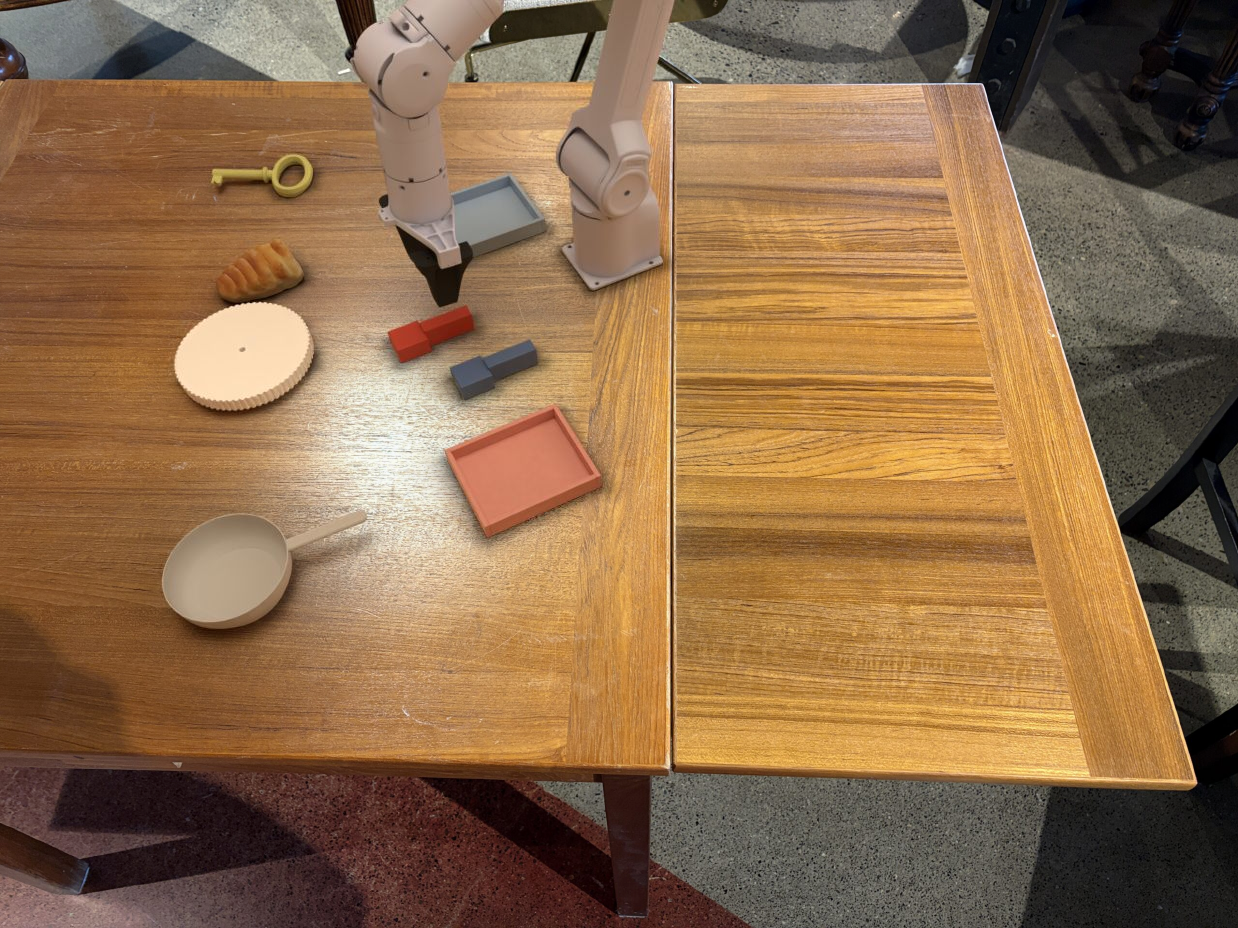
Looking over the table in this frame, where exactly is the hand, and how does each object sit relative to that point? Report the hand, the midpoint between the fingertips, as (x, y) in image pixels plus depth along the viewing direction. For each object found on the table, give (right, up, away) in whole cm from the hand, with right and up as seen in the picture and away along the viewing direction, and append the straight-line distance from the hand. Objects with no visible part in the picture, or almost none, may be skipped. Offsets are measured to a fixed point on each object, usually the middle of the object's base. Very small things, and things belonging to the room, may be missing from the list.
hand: (433, 279), depth 92 cm
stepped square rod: (+6, -9, +3) cm, 12 cm away
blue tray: (+3, +10, +17) cm, 20 cm away
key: (-26, +17, +23) cm, 38 cm away
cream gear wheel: (-21, -8, +5) cm, 23 cm away
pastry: (-22, +2, +12) cm, 25 cm away
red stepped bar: (-1, -5, +6) cm, 8 cm away
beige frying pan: (-12, -29, -10) cm, 33 cm away
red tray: (+10, -20, -4) cm, 23 cm away
